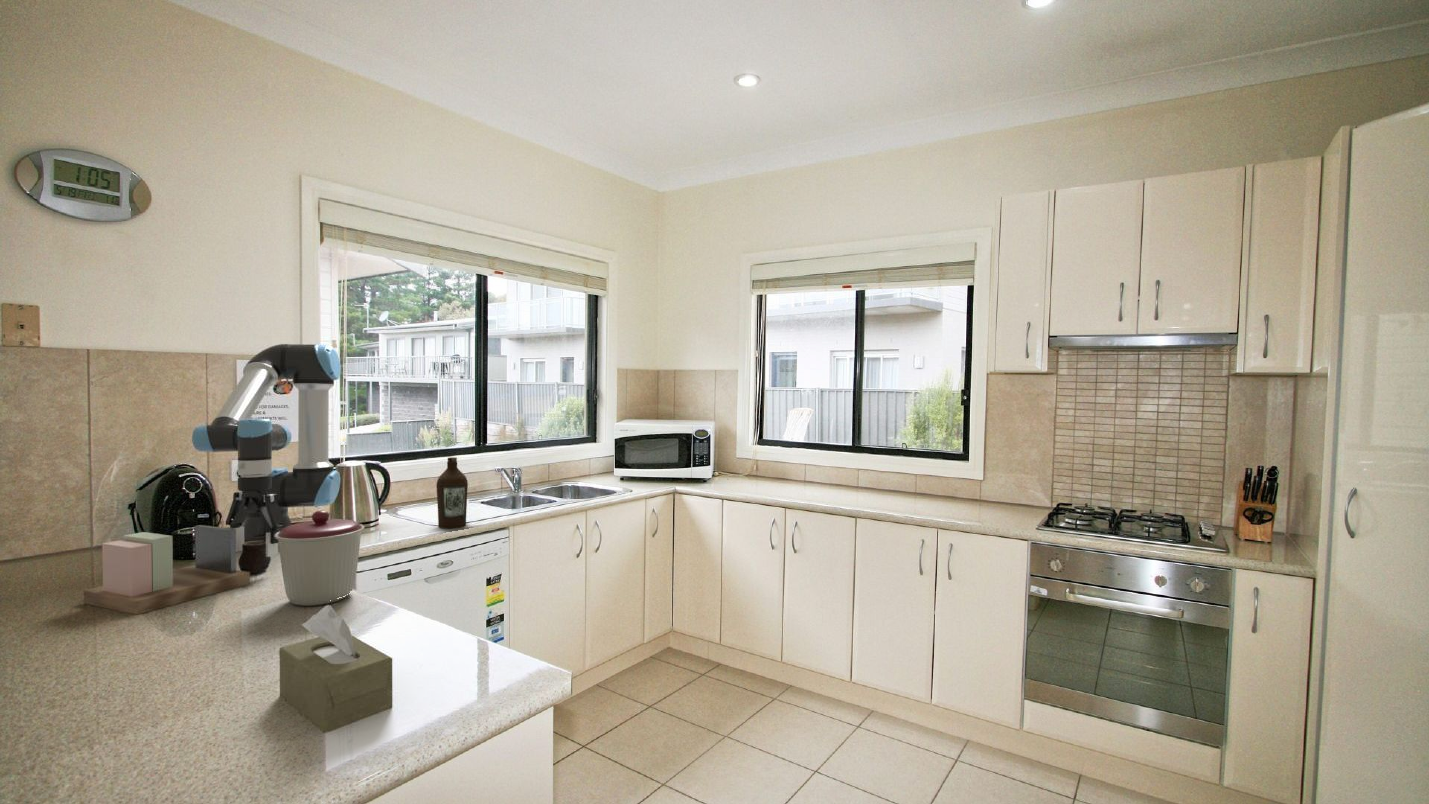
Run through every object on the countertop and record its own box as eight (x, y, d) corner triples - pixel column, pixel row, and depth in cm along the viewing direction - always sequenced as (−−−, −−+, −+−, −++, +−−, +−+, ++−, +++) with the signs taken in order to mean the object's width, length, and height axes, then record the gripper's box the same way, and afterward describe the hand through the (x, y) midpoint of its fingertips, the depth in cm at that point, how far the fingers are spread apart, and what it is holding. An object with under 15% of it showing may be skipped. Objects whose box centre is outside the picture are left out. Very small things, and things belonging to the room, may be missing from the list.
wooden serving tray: (199, 575, 170) (199, 564, 170) (249, 583, 162) (249, 572, 162) (83, 603, 147) (83, 590, 147) (136, 614, 140) (136, 601, 140)
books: (144, 581, 154) (143, 532, 154) (172, 586, 150) (172, 535, 150) (102, 590, 147) (102, 539, 147) (131, 596, 143) (131, 543, 143)
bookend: (200, 566, 167) (200, 525, 167) (236, 572, 162) (235, 529, 162) (195, 567, 166) (195, 525, 166) (231, 573, 161) (230, 530, 161)
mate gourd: (243, 569, 175) (243, 533, 175) (275, 567, 178) (275, 531, 178) (233, 576, 169) (234, 538, 169) (267, 574, 171) (268, 537, 171)
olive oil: (434, 524, 235) (433, 457, 234) (464, 521, 240) (464, 455, 240) (439, 530, 226) (439, 459, 225) (470, 526, 232) (470, 458, 231)
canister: (314, 616, 139) (313, 520, 139) (255, 607, 145) (255, 515, 145) (381, 592, 157) (381, 506, 156) (326, 584, 162) (326, 502, 162)
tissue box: (278, 696, 104) (278, 599, 103) (343, 675, 111) (342, 585, 111) (325, 735, 92) (324, 626, 92) (393, 709, 100) (393, 608, 99)
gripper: (209, 475, 174) (209, 552, 174) (272, 479, 165) (272, 560, 165) (238, 472, 181) (238, 546, 181) (300, 475, 172) (300, 554, 172)
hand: (254, 553), depth 173 cm, fingers open, 13 cm apart
